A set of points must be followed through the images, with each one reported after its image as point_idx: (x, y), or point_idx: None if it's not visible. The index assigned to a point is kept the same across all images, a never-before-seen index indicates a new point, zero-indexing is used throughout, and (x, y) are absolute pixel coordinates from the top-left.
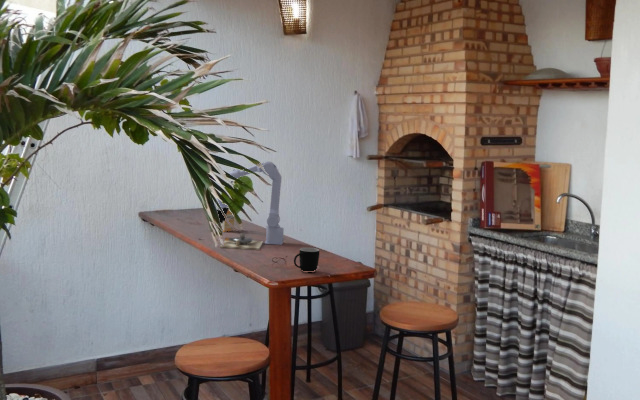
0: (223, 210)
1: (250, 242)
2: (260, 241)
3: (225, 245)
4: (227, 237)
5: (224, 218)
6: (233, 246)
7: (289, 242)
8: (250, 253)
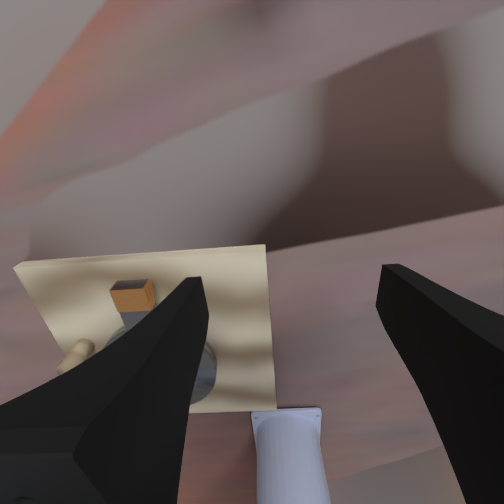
0: (489, 447)
1: (216, 375)
2: (263, 403)
3: (52, 291)
4: (146, 299)
5: (391, 326)
6: (58, 330)
7: (324, 462)
8: (16, 394)
